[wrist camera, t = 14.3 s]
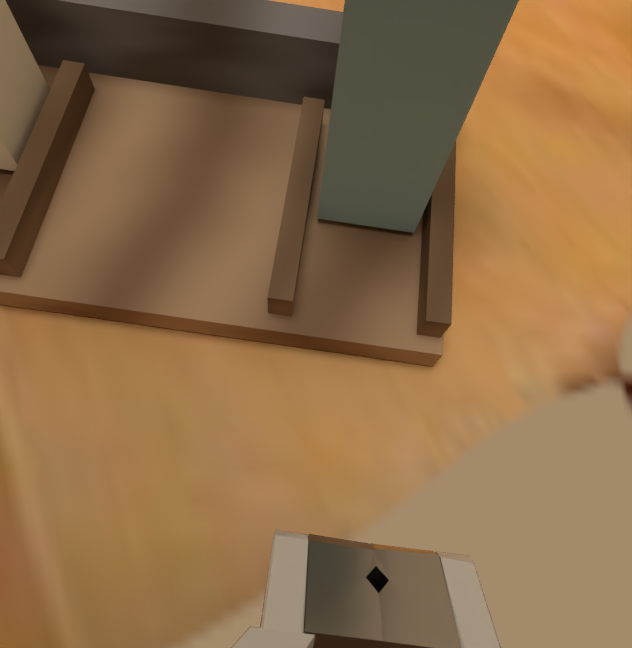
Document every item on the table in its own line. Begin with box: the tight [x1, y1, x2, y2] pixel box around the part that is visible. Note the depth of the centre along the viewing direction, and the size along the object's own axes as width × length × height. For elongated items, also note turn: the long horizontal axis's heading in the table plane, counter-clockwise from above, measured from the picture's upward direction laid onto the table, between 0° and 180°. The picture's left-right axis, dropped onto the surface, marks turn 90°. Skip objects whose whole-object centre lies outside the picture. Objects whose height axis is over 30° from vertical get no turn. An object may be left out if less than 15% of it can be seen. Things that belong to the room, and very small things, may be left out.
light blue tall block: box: [317, 0, 519, 233], centre depth 14 cm, size 4×4×11 cm
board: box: [0, 0, 456, 366], centre depth 19 cm, size 20×12×4 cm, turn 83°
